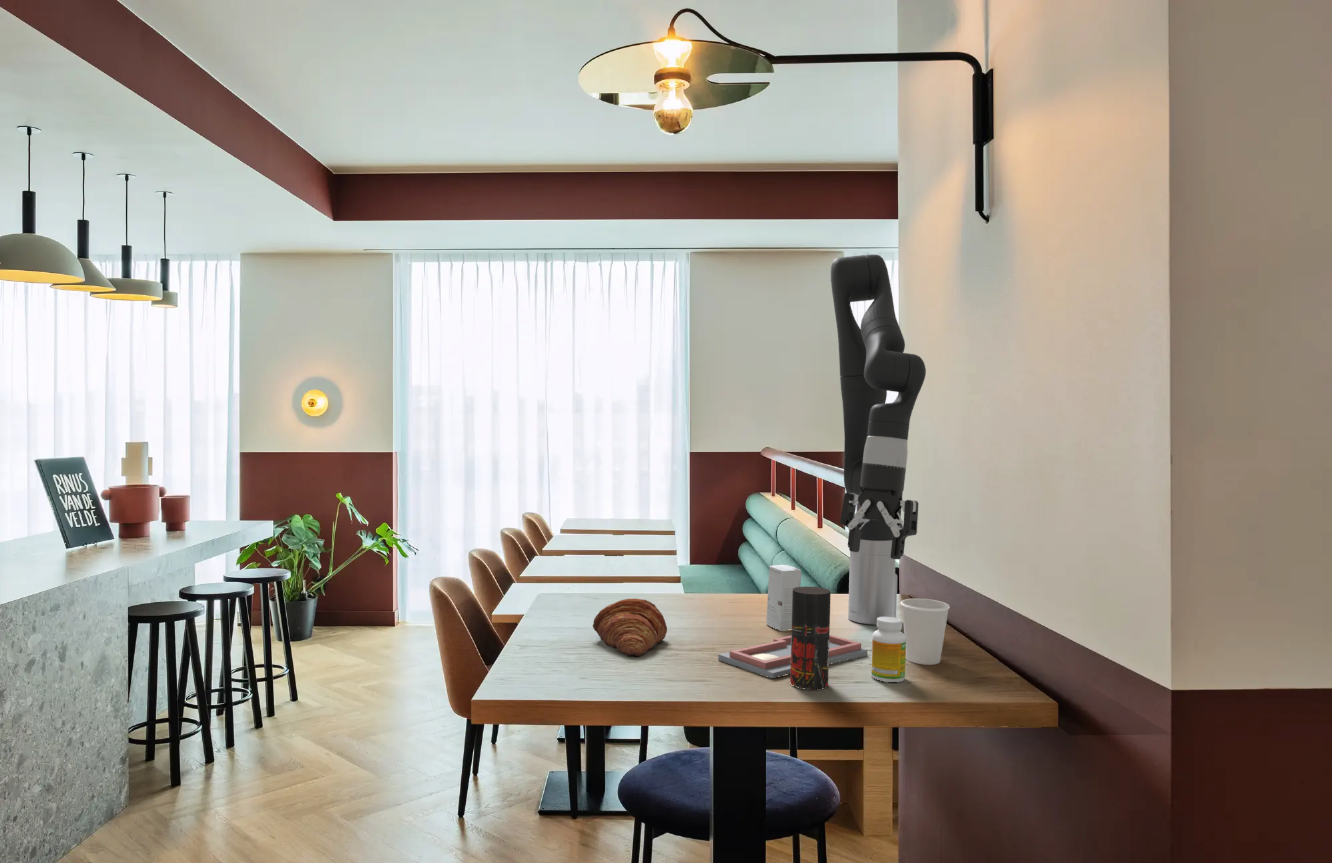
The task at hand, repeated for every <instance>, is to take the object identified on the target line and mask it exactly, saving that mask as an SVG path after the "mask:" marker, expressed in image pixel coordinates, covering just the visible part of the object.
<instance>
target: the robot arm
mask: <svg viewBox="0 0 1332 863" xmlns="http://www.w3.org/2000/svg"><path fill="white" fill-rule="evenodd" d="M830 283H831V294H832V298H833V299H832V300H833V307H834V308H833V309H834V315H835V321H836V329H837V340H838V342H837V343H838V359H839V360H838V361H839V363H838V364H839V376H840V377H839V381H840V392H841V393H840V394H841V401H842V413H843V415H842V416H843V433H844V435H843V436H844V443H843V444H844V452H843V454H844V455H843V483H844V488H845V493H844V496H843V502H842V507H841V508H842V509H841V513H840V518H839V519H840V520H839V524H840V525H842V526H844V527H846V528H848V538H847V547H848V548H849V577H848V580H849V582H848V589H849V590H848V607H847V608H848V610H847V612H848V615H847V617H848V619H849V620H850V621H851V622H855V623H859V624H864V625H874V626H875V625H876V626H877V618H878V617H895V618H897V600H898V598H897V596H898V574H897V573H896V560H901V557H903V556H904V552H905V544H906V539H907V537H912V536H916V535H917V533H918V519H919V502H918V501H917V500H913V499H906V500H904V499H903V492H904V490H905V480H906V473H907V472H906V471H907V470H906V469H907V463H908V452H909V450H908V439H909V430H910V422H911V417H912V413H913V410H914V407H915V405H916V402H917V400H918V396H919V393H920V391H921V390H922V387H923V385H924V382H925V380H926V374H927V372H926V370H927V368H926V364H925V362H924V360H923V358H921V356H920V355H917V354H914V353H907V352H904V351H905V348H906V342H905V338H904V335H903V333H902V329H901V327H900V324H899V322H898V320H897V316H896V312H895V306H894V305H895V304H894V299H893V291H892V286H891V280H890V276H889V271H888V267H887V264H886V262H885V260H884V258H883V257H882V256H881V255H879V254H871V253H870V254H863V255H861V254H860V255H851V256H841V257H837V258H834V259H833V261H832V262H831V264H830ZM865 301H866V302H867V301H872V302H871V304H870V305H869V306H868V308H867V310H866V311H865V312H864V314H863V316H862V318H861V322H860V326H859V324H858V323H857V320H856V319H855V316H854V313H853V310H852V305H851V303H855V302H857V303H858V302H865ZM888 392H894V393H895V392H896V393H898V394H897V396H896V398H895V400H894V401H893V402H890V403H889V402H888V403H886V402H887V395H888ZM858 504H859V506H860V507H859V509H858V510H857V505H858ZM856 510H857V511H856ZM902 512H903V519H902Z"/></svg>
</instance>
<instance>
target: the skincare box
mask: <svg viewBox="0 0 1332 863" xmlns="http://www.w3.org/2000/svg"><path fill="white" fill-rule="evenodd" d="M767 583H768V586H767V600H766V601H767V604H766V605H767V606H766V619H765V620H766V626H769V627H771V628H772V627H773V629H774V628H775V629H774V630H776V629H778V630H779V632H784V631H783V630H788V629H792V593H793V588H796V587H802V586H801V585H802V570H801V569H798V568H797V567H794V566H790V565H788V564H776V565H775V564H773V565H769V567H768V582H767ZM778 630H777V631H778Z"/></svg>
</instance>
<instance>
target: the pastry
mask: <svg viewBox="0 0 1332 863" xmlns="http://www.w3.org/2000/svg"><path fill="white" fill-rule="evenodd" d="M592 628H593V629H594V630H593V631H595V632H596V633H597V635H598V637H599V638H600V641H602V642H604V644H605V645H606V646H609V647H610V648H613V649H616V650H617V651H618V652H619V653H620V654H623V655H626V656H629V657H631V656H632V657H634V656H635V657H636V658H638V657H642V656H644V655H645V654H646V653H647V652H649V651H650V650H652V649H653V648H654V647H655V646H656V645H659V644H660V643H661V642H662V641H663V640H664V639H665V638H666V635H667V632H668V627H667V624H666V620H665V618H664V616H663V613H662V612H661V611H660V610H659V609H658V607H657V605H656V604H654V603H652V602H651V601H649V600H647V599H642V598H626V599H620V600H618V601H616V602H613V603H611V604H609V605H607V606H605V607H603V608H602V609H601V610H599V612H598V613H597V614H596V615H595V617H594V619H593V624H592Z"/></svg>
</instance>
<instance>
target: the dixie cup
mask: <svg viewBox="0 0 1332 863" xmlns="http://www.w3.org/2000/svg"><path fill="white" fill-rule="evenodd" d="M900 606H901V611H902V612H901V614H902V626H903V634H904V635H905V636H906V660H907V661H909V662H910V663H914V664H918V665H927V666H928V665H929V666H931V665H937V664H940V663H941V658H942V651H943V646H944V639H945V633H946V632H945V631H946V627H947V626H946V625H947V620H948V613H949V609H950V608H951V607H950V604H948V603H947V602H944V601H941V600H936V599H930V598H906V599H903V600H901V601H900Z"/></svg>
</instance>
